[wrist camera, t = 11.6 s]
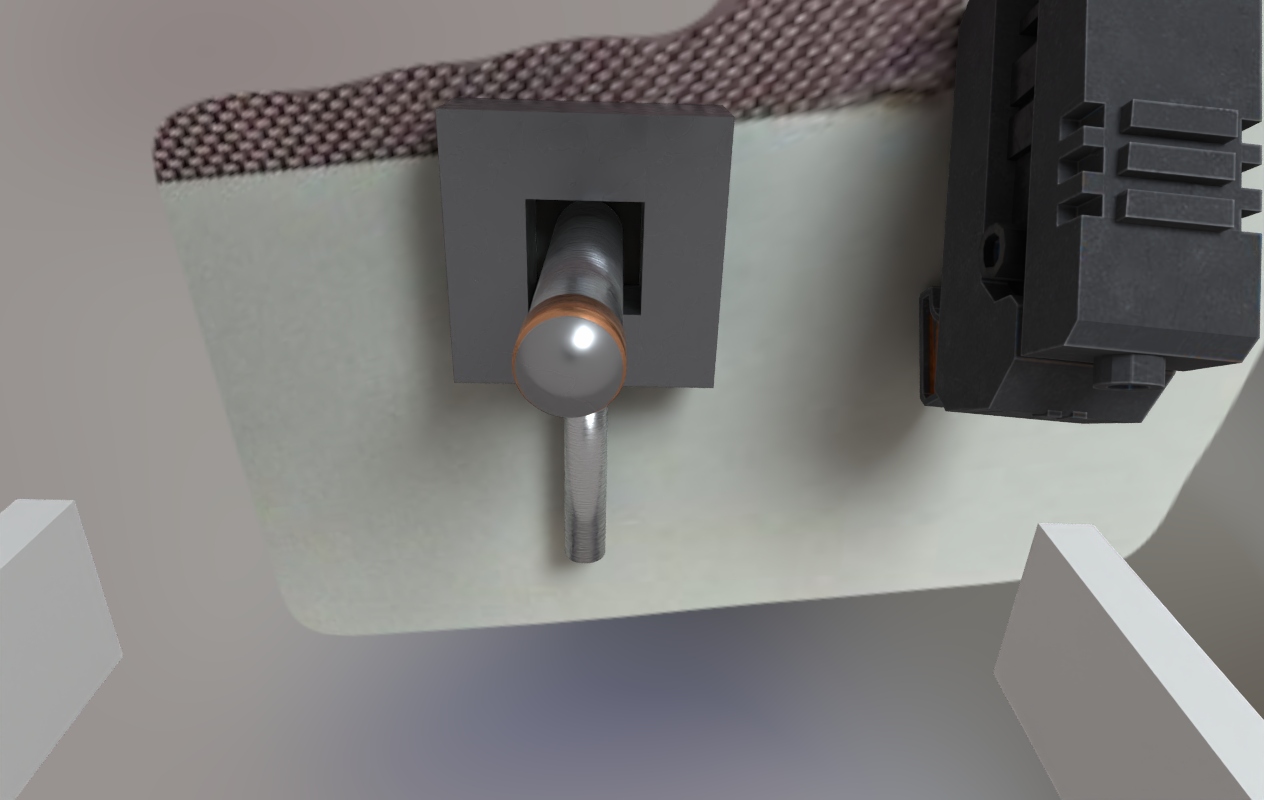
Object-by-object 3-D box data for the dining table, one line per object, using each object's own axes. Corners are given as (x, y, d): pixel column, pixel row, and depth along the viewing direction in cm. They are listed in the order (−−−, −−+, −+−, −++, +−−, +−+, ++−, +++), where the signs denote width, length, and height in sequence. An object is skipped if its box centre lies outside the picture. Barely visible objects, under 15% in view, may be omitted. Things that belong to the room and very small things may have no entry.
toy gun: (874, 423, 38) (1067, 398, 23) (900, 15, 39) (1097, -260, 24) (1006, 435, 38) (1281, 418, 23) (1026, 30, 39) (1297, -233, 24)
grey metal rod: (551, 196, 36) (509, 313, 22) (625, 198, 36) (628, 316, 22) (552, 268, 37) (512, 419, 24) (624, 270, 37) (625, 422, 24)
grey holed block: (455, 97, 34) (435, 108, 30) (722, 105, 34) (734, 117, 31) (480, 526, 43) (467, 574, 40) (692, 530, 43) (698, 577, 40)
